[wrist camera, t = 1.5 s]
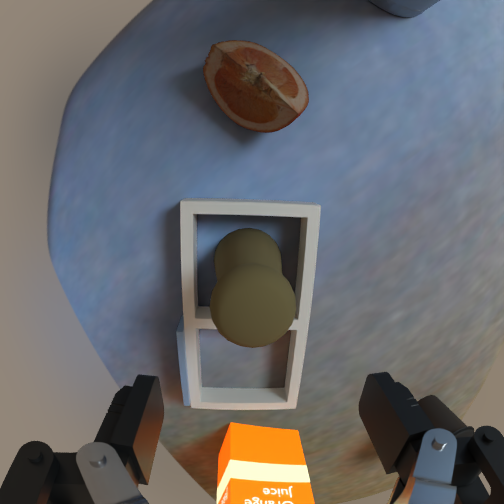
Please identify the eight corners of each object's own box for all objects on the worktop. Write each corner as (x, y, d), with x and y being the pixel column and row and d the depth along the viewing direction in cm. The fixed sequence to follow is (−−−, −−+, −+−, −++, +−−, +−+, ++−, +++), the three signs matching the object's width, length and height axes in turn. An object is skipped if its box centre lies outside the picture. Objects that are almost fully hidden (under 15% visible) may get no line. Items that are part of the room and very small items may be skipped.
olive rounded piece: (291, 241, 27) (325, 287, 16) (266, 301, 28) (282, 373, 18) (226, 218, 26) (220, 251, 16) (204, 280, 28) (187, 346, 17)
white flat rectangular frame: (178, 197, 25) (171, 201, 22) (313, 202, 26) (323, 206, 23) (188, 392, 31) (184, 411, 28) (292, 393, 32) (296, 412, 28)
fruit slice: (192, 88, 23) (182, 71, 18) (245, 39, 22) (247, 14, 17) (263, 150, 25) (269, 146, 20) (315, 99, 24) (332, 84, 19)
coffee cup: (428, 425, 36) (455, 467, 26) (389, 430, 35) (415, 479, 25) (453, 386, 34) (488, 427, 24) (415, 389, 33) (449, 437, 23)
